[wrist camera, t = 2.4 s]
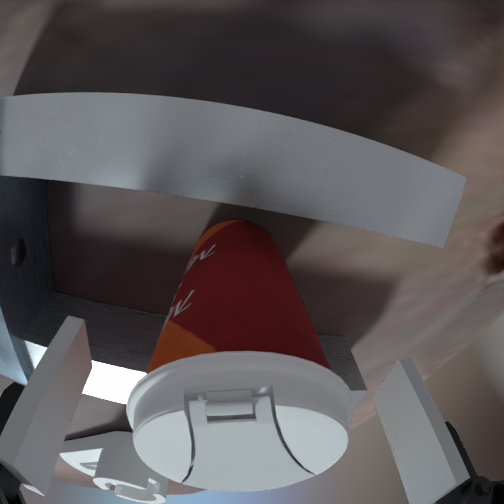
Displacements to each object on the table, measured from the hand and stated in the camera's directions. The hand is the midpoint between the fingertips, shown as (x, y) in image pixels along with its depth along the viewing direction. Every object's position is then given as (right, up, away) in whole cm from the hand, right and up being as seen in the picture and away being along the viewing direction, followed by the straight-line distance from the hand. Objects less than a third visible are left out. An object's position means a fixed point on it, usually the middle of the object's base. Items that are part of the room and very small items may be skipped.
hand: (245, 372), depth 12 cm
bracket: (-19, -23, +21) cm, 36 cm away
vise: (-9, +6, +8) cm, 13 cm away
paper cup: (-1, +4, +9) cm, 10 cm away
